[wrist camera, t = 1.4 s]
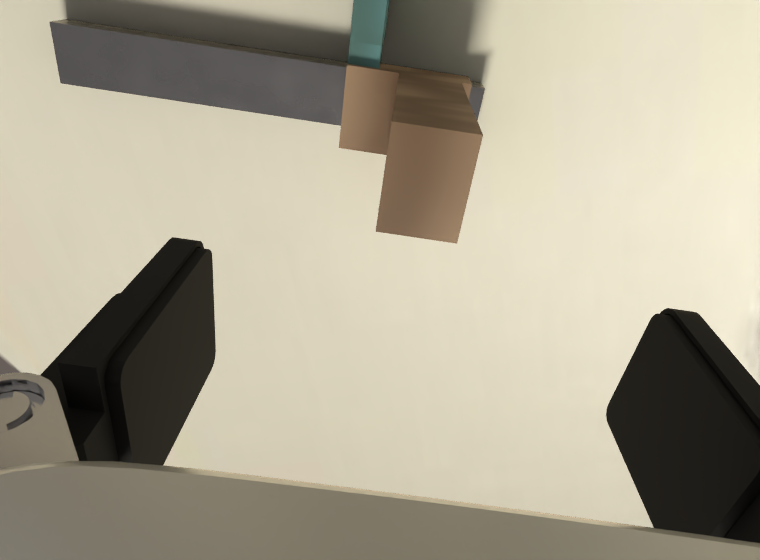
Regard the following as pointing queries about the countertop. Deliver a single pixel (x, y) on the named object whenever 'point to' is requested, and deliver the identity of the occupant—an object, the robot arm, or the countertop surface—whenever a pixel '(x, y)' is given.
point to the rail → (204, 72)
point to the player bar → (409, 132)
